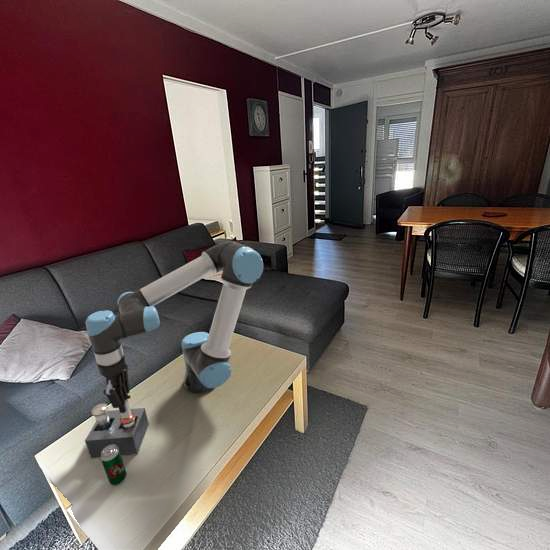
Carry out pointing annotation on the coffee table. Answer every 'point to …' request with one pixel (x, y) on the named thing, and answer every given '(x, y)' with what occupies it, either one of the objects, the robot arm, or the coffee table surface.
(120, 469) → the soda can
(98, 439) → the housing
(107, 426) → the white light bulb
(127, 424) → the orange light bulb
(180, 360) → the coffee table surface
